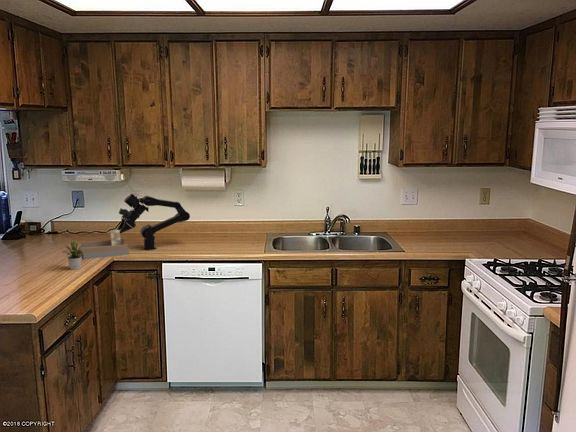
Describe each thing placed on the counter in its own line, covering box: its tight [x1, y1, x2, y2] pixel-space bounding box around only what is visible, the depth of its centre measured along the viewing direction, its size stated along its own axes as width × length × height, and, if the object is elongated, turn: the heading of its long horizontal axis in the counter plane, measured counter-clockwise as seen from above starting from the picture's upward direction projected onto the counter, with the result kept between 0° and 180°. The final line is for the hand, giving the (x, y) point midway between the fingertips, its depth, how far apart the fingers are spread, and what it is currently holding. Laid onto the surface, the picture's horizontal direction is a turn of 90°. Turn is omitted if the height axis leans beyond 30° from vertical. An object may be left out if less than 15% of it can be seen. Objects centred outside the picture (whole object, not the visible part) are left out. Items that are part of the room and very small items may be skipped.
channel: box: [80, 238, 130, 260], centre depth 295 cm, size 25×18×6 cm
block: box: [109, 229, 121, 246], centre depth 297 cm, size 5×5×10 cm
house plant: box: [59, 238, 85, 271], centre depth 263 cm, size 14×14×16 cm
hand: (118, 231), depth 297 cm, fingers open, 9 cm apart
